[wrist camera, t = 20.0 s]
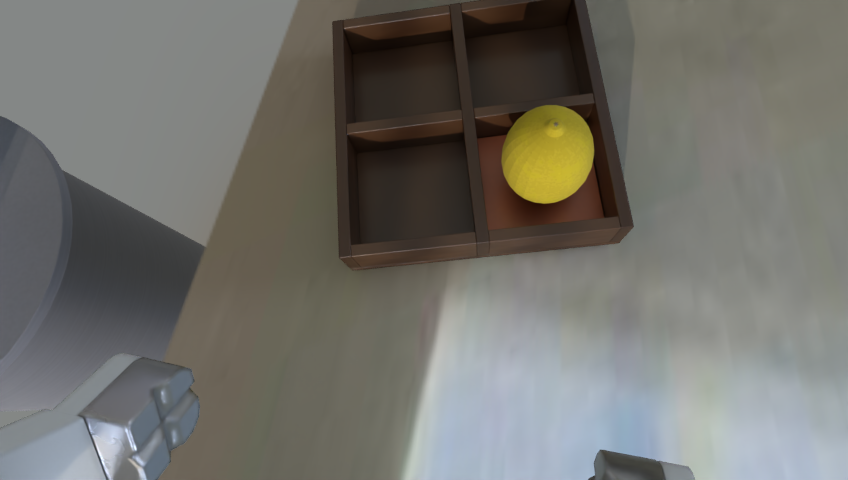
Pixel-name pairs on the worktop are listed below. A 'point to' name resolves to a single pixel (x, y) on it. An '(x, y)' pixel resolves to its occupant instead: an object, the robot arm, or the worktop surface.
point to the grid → (464, 132)
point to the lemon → (547, 154)
